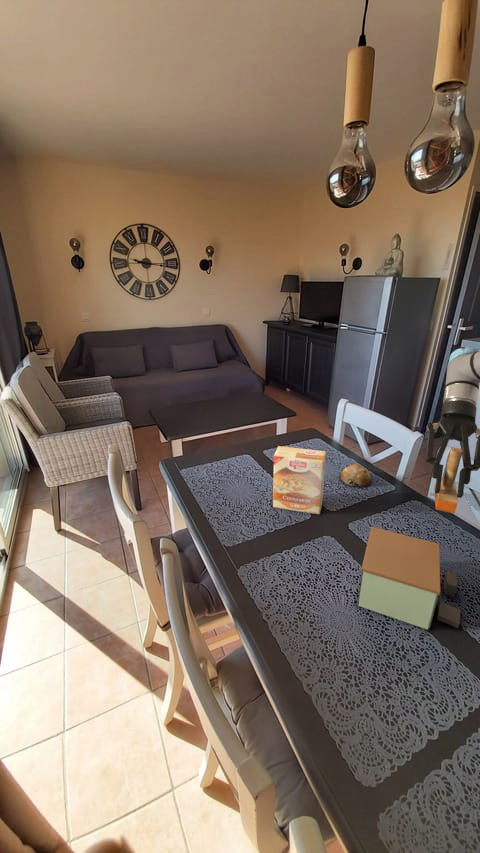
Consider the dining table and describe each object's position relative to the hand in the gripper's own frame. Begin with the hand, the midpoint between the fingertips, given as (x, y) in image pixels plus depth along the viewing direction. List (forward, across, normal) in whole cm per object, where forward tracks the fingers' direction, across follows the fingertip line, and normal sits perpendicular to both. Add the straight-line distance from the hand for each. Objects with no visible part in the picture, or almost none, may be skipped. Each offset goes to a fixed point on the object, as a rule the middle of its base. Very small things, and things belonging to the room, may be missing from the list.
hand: (448, 494), depth 85 cm
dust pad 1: (+20, -2, -7) cm, 21 cm away
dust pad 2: (+25, -3, -1) cm, 26 cm away
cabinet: (+25, +8, -4) cm, 27 cm away
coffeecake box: (+9, +39, -21) cm, 45 cm away
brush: (0, 0, -6) cm, 6 cm away
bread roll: (-7, +25, -38) cm, 46 cm away
